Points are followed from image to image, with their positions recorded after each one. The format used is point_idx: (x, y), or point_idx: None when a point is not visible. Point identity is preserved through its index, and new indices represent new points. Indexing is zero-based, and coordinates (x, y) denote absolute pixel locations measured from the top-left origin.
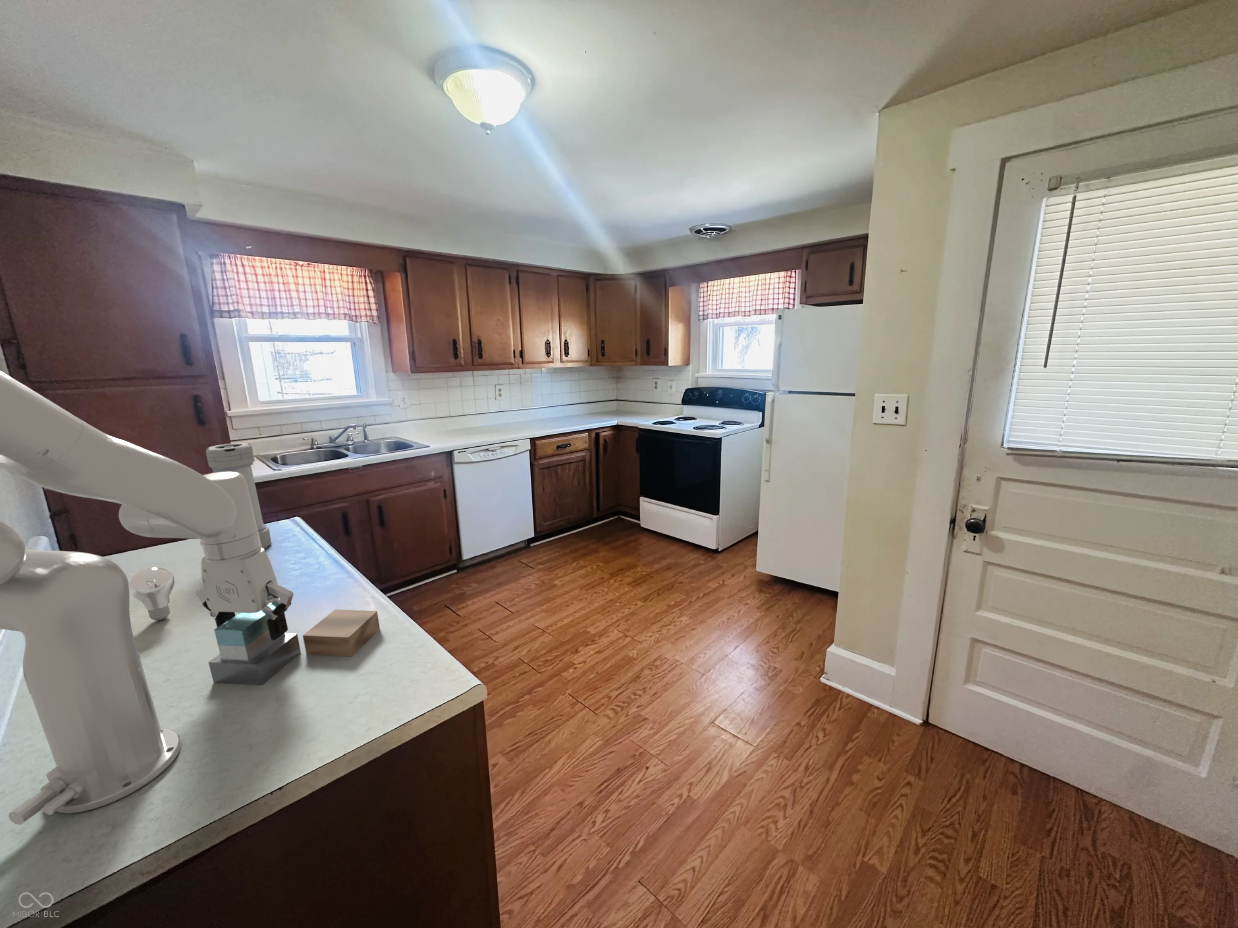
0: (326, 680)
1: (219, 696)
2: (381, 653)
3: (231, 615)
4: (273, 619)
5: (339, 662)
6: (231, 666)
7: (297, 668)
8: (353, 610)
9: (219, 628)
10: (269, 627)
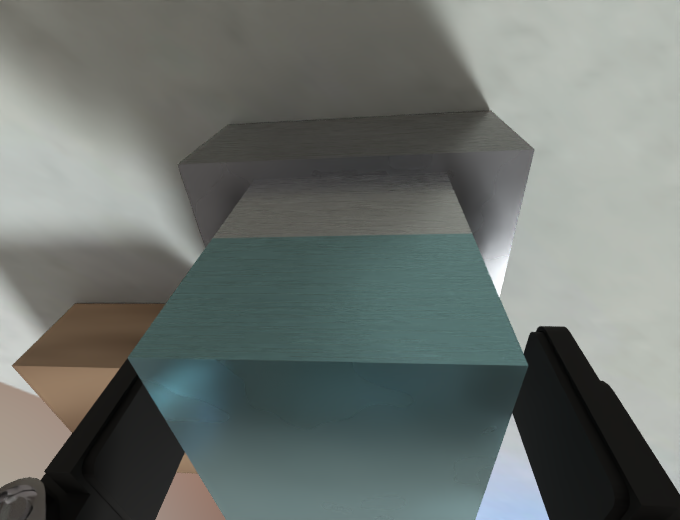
0: (4, 185)
1: (362, 7)
2: (5, 320)
3: (558, 507)
4: (20, 480)
5: (80, 275)
6: (360, 147)
7: (192, 235)
8: (186, 471)
9: (465, 381)
10: (106, 403)
